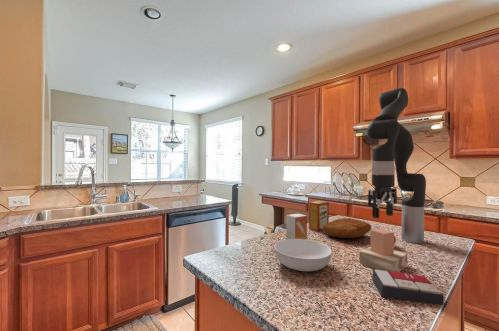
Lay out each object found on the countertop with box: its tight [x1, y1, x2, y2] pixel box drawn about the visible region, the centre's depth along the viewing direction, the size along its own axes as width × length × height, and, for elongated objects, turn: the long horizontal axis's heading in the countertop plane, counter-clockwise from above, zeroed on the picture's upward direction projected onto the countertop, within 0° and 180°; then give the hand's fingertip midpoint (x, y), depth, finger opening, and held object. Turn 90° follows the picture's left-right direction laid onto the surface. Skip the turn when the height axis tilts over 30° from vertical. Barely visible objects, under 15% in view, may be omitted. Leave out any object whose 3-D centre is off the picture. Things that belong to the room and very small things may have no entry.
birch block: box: [359, 246, 408, 272], centre depth 90 cm, size 12×12×5 cm
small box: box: [285, 213, 308, 240], centre depth 116 cm, size 8×6×13 cm
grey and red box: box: [371, 269, 445, 306], centre depth 71 cm, size 11×4×15 cm
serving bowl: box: [273, 239, 333, 272], centre depth 89 cm, size 21×21×7 cm
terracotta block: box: [369, 228, 395, 256], centre depth 90 cm, size 6×6×8 cm
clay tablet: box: [323, 217, 372, 239], centre depth 125 cm, size 22×17×8 cm
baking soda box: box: [308, 200, 330, 233], centre depth 140 cm, size 10×6×16 cm
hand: (382, 216), depth 90 cm, fingers open, 8 cm apart
